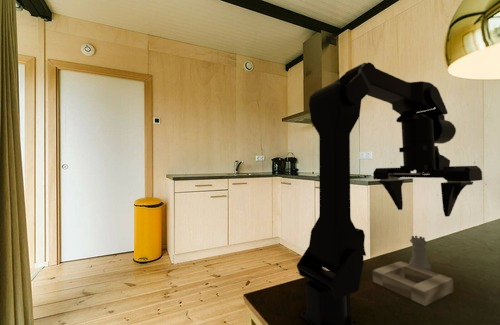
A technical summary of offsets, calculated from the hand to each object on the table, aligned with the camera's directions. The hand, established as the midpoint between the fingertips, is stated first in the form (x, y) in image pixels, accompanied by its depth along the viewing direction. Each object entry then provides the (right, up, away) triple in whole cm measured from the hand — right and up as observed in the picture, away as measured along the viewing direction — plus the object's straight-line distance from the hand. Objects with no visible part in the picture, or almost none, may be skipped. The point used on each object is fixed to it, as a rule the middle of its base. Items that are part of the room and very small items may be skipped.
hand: (421, 212), depth 50 cm
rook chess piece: (+2, -15, +4) cm, 16 cm away
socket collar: (-4, -15, -3) cm, 16 cm away
